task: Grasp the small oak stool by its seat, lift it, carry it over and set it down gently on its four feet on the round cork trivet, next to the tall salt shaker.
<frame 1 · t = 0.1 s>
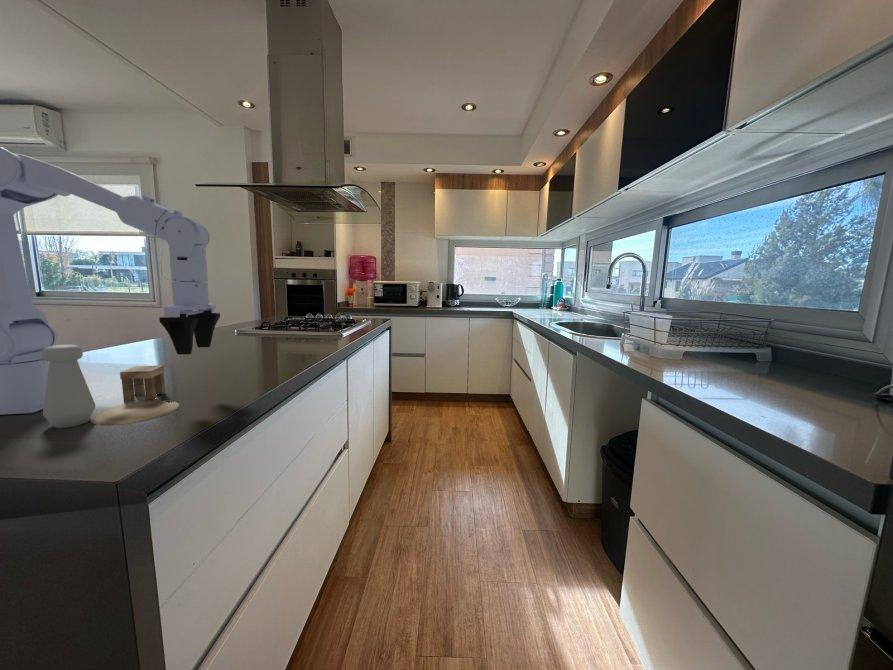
hand: (194, 350, 69), 10 cm above the counter, tool pointing down, fingers open, 7 cm apart
salt shaker: (72, 424, 57), on the counter
trivet: (137, 413, 62), on the counter
stool: (145, 397, 70), on the counter
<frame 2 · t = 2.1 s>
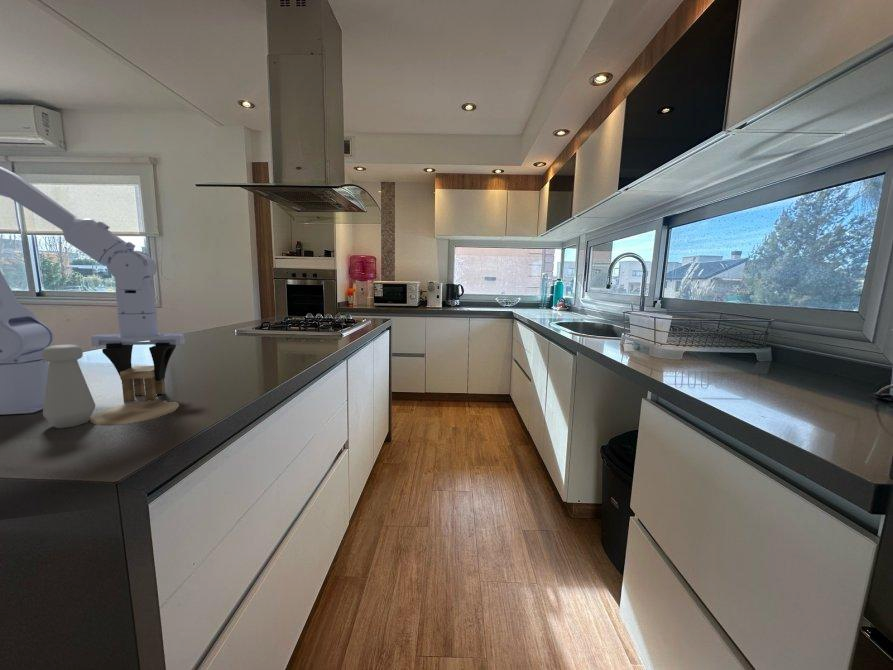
hand: (143, 380, 70), 4 cm above the counter, tool pointing down, fingers closed on stool, 5 cm apart
stool: (145, 397, 70), on the counter, touching gripper
everything else where it was.
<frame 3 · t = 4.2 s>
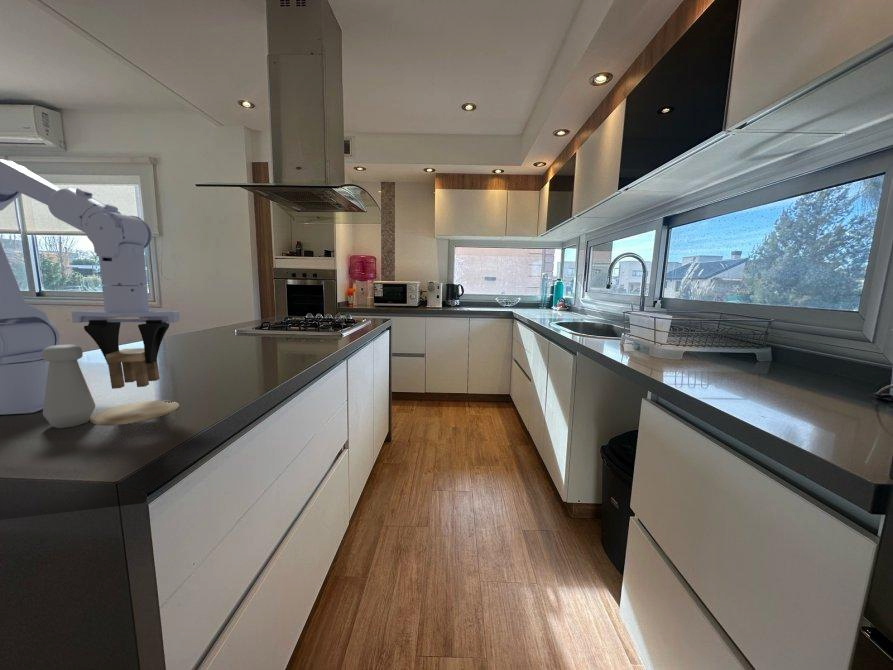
hand: (132, 362, 61), 9 cm above the counter, tool pointing down, fingers closed on stool, 5 cm apart
stool: (136, 383, 62), point 5 cm above the counter, touching gripper
everything else where it was.
when the fingers open (5 cm above the counter, at t = 6.1 s): stool stays where it is, resting on trivet.
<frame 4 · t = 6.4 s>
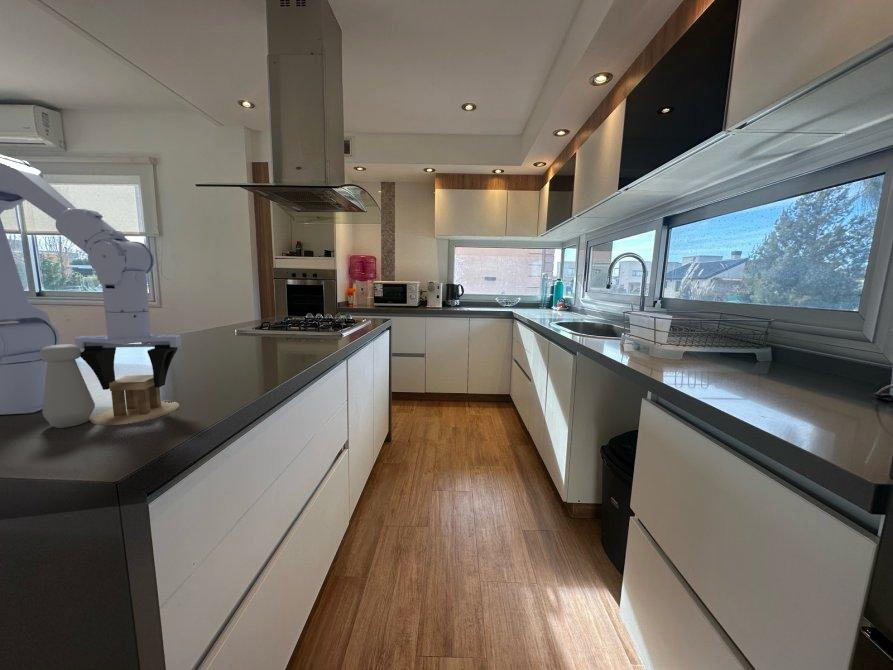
hand: (135, 387, 62), 5 cm above the counter, tool pointing down, fingers open, 7 cm apart
salt shaker: (72, 424, 57), on the counter, touching gripper
stool: (138, 410, 63), resting on trivet
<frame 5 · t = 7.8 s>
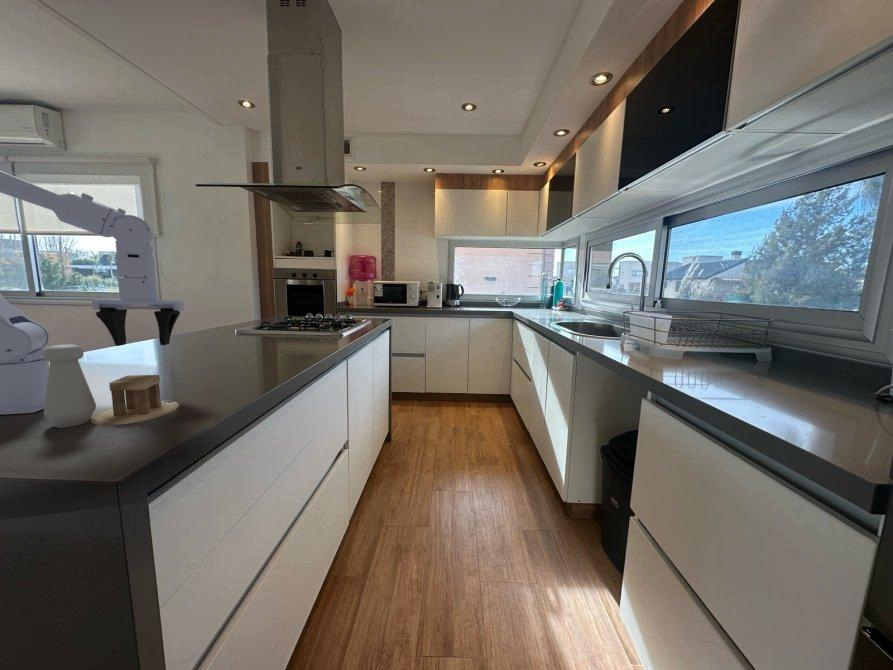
hand: (143, 344, 71), 10 cm above the counter, tool pointing down, fingers open, 7 cm apart
salt shaker: (72, 424, 57), on the counter
everything else where it was.
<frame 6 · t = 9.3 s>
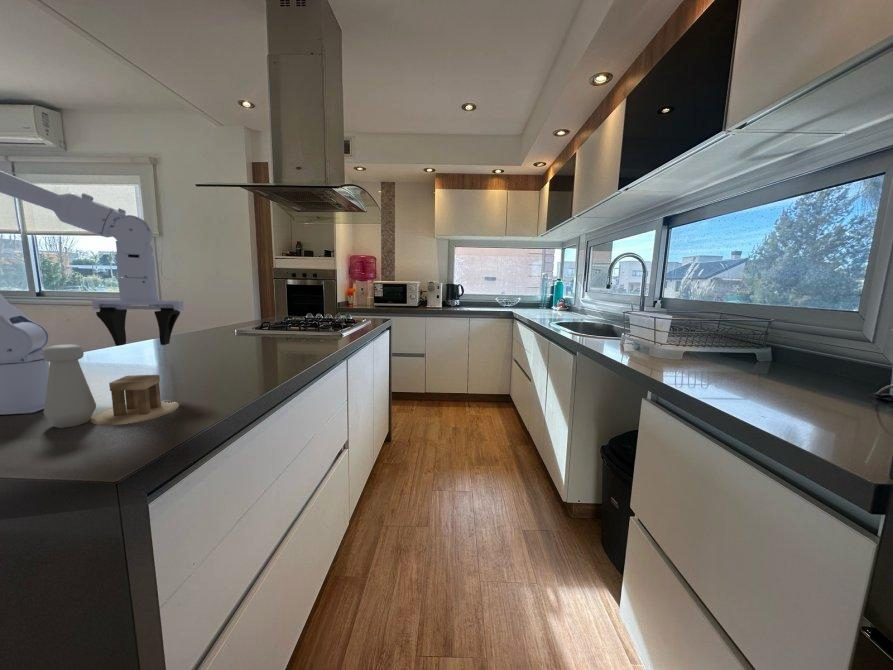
hand: (143, 344, 71), 10 cm above the counter, tool pointing down, fingers open, 7 cm apart
nothing on the counter moved.
at the end: stool 0.3 cm from the trivet (horizontally); stool tilted 0°; stool resting on trivet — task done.
